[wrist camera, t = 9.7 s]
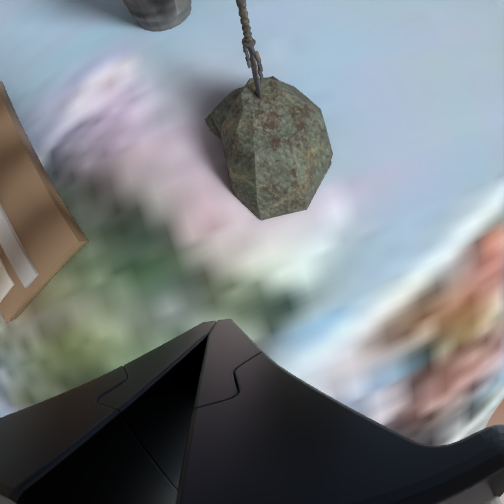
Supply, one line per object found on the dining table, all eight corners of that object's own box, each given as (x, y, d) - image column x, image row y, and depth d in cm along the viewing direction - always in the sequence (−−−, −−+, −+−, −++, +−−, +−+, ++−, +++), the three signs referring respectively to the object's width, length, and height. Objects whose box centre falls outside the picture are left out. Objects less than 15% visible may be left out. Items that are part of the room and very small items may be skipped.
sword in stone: (356, 185, 21) (463, 149, 9) (255, 236, 21) (269, 251, 9) (288, 66, 20) (321, -49, 8) (189, 109, 20) (138, 6, 8)
